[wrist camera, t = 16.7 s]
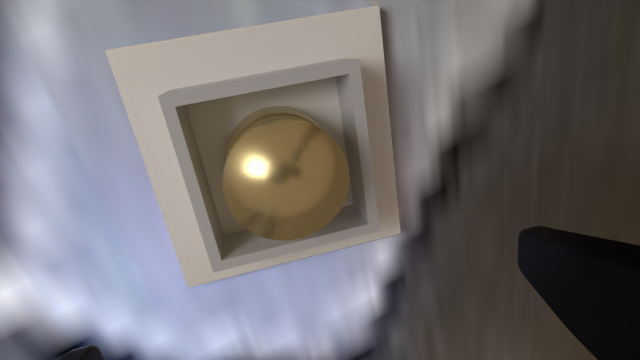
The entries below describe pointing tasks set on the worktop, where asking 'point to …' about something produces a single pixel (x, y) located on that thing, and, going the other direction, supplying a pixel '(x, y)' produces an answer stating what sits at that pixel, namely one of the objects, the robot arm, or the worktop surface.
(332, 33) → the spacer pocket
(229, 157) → the cylinder
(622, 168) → the worktop surface
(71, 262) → the worktop surface
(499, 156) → the worktop surface
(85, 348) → the robot arm
